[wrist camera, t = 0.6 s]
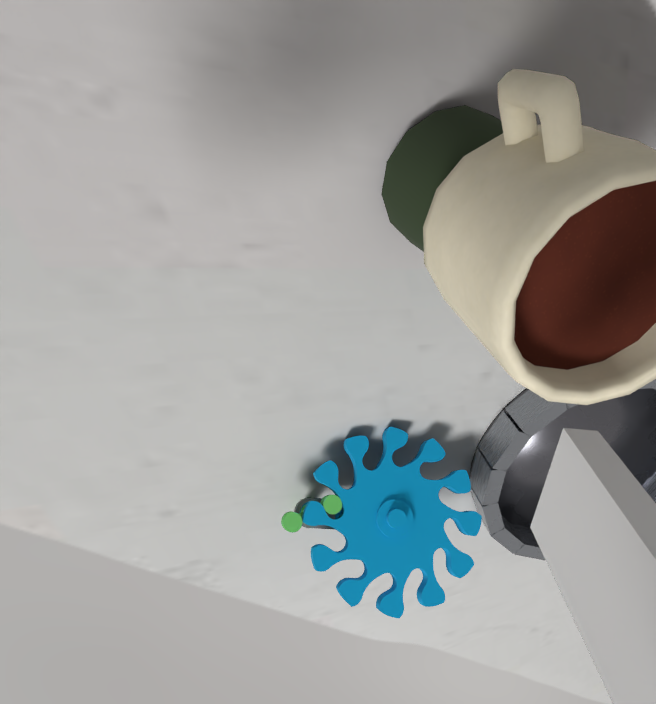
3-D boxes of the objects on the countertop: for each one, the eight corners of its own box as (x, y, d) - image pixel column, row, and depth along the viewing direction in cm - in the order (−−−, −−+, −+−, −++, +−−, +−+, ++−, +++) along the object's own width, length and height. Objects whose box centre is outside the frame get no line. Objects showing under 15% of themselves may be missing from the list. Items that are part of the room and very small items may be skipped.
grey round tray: (447, 414, 33) (462, 438, 31) (686, 316, 33) (715, 334, 31) (491, 561, 41) (505, 587, 39) (684, 484, 41) (707, 506, 39)
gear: (485, 433, 32) (487, 624, 30) (449, 443, 38) (448, 605, 35) (292, 416, 31) (276, 615, 28) (284, 430, 37) (270, 596, 34)
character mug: (533, 251, 29) (740, 397, 18) (403, 305, 29) (529, 483, 18) (496, 16, 23) (769, 19, 12) (333, 86, 23) (456, 151, 12)
